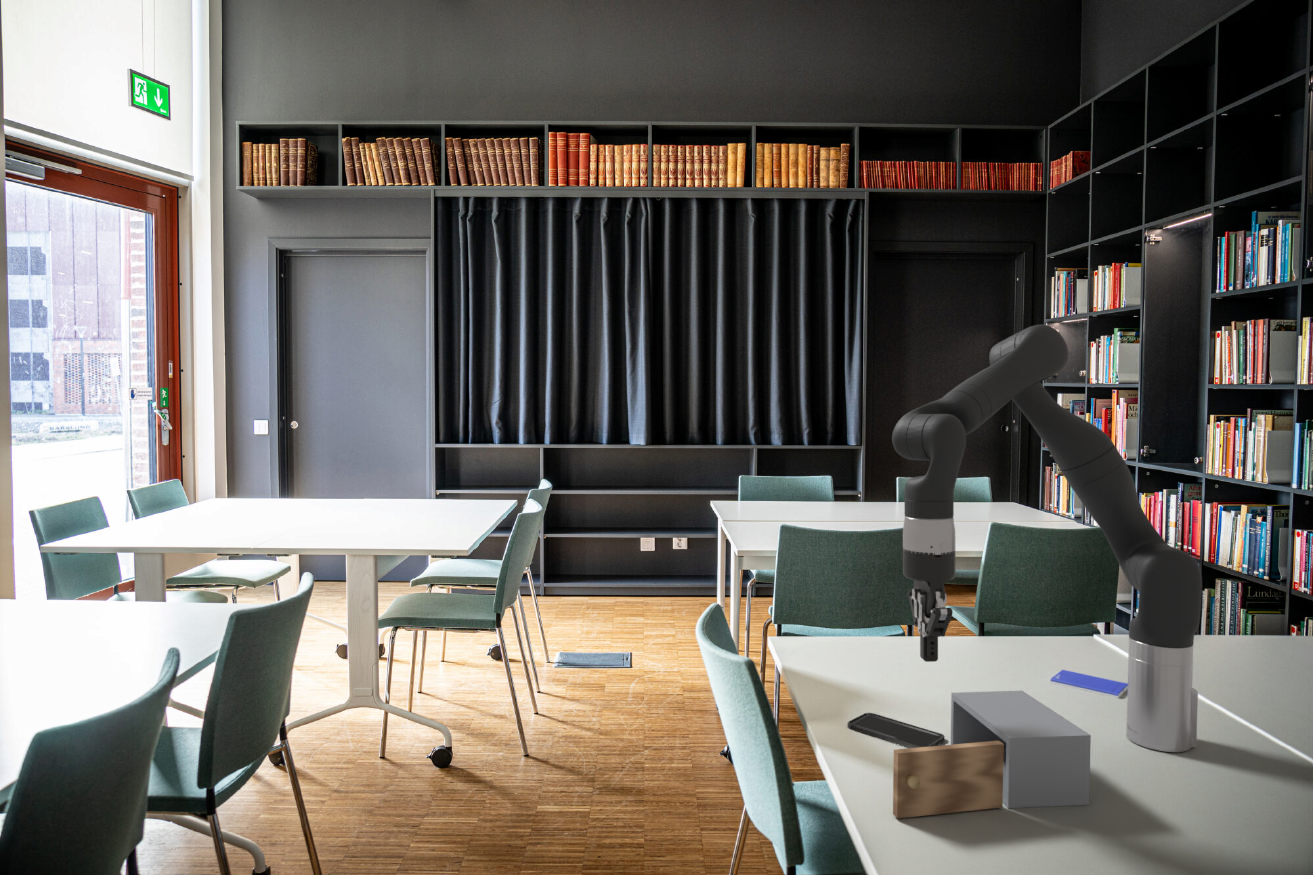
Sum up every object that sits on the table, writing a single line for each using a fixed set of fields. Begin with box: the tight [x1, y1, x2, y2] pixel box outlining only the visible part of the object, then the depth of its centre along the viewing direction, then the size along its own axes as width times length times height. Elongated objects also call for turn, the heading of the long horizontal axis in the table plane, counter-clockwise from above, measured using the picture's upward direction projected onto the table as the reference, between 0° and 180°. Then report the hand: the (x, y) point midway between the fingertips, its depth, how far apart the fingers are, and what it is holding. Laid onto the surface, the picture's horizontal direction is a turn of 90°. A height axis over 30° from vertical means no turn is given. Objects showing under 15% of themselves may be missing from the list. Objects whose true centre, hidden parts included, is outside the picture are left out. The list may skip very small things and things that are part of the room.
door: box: [892, 741, 1004, 819], centre depth 112 cm, size 16×2×9 cm, turn 101°
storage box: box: [950, 690, 1092, 809], centre depth 123 cm, size 12×18×10 cm, turn 5°
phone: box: [847, 712, 945, 749], centre depth 139 cm, size 8×1×15 cm
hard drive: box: [1049, 669, 1128, 699], centre depth 164 cm, size 2×8×12 cm
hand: (929, 659), depth 122 cm, fingers closed
